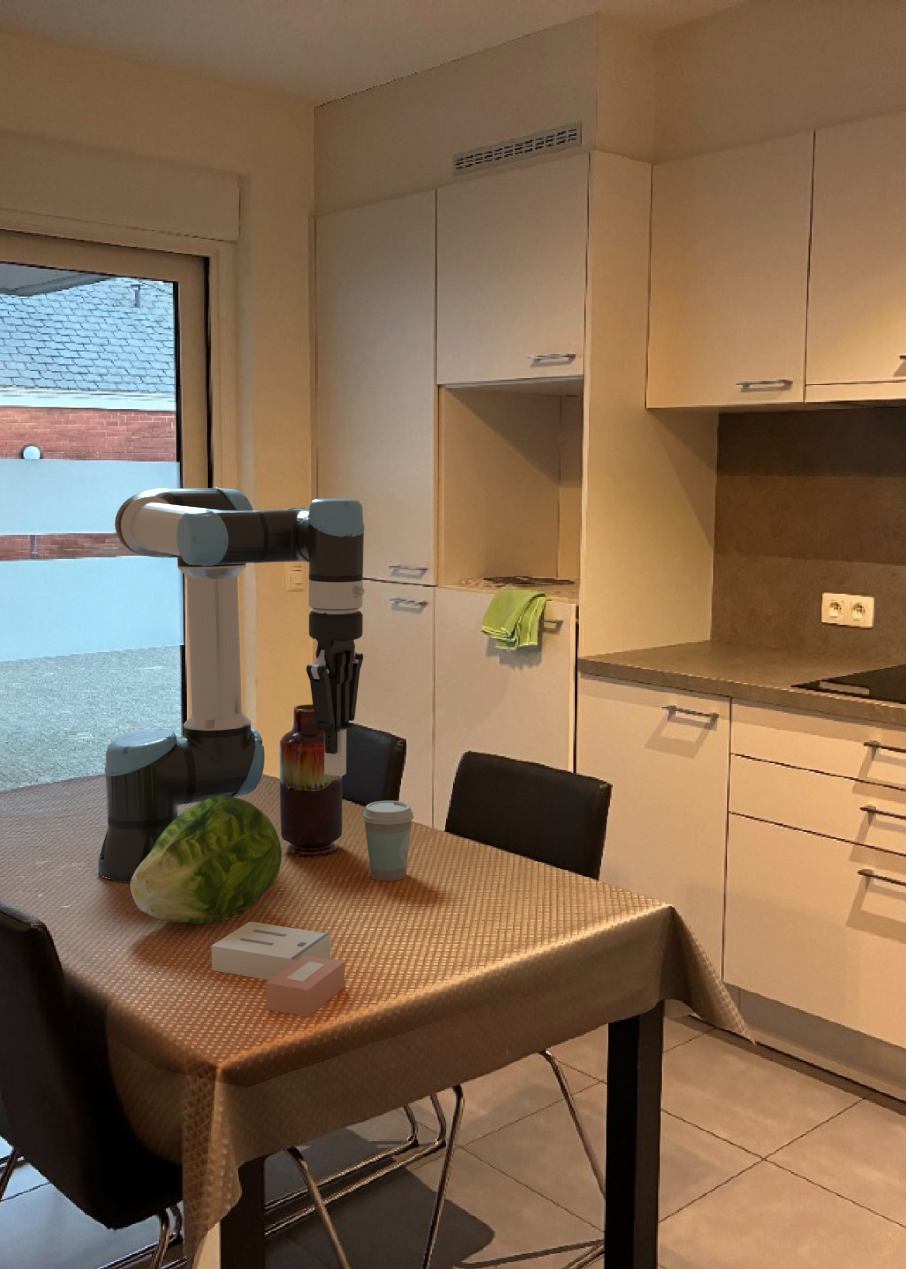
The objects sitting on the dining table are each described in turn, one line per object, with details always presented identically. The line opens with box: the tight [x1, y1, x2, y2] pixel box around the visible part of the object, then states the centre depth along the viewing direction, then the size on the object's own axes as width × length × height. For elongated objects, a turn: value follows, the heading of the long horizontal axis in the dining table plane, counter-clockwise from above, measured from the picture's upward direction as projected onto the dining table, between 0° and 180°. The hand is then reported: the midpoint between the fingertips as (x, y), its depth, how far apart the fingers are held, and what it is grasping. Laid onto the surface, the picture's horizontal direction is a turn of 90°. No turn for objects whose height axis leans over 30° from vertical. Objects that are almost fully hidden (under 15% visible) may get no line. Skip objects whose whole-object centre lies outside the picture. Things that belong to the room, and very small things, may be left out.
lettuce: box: [129, 796, 283, 926], centre depth 189 cm, size 19×23×18 cm
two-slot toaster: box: [210, 921, 332, 981], centre depth 172 cm, size 13×10×4 cm
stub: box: [265, 955, 346, 1018], centre depth 161 cm, size 6×10×4 cm, turn 158°
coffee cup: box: [362, 800, 414, 882], centre depth 210 cm, size 8×9×12 cm
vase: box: [278, 703, 343, 858], centre depth 224 cm, size 11×11×26 cm
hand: (335, 773), depth 178 cm, fingers closed
